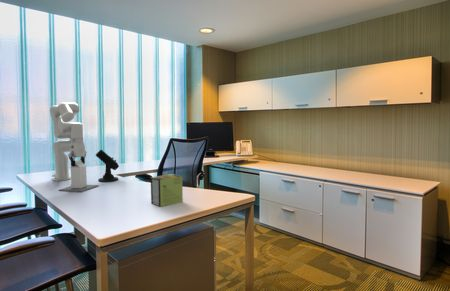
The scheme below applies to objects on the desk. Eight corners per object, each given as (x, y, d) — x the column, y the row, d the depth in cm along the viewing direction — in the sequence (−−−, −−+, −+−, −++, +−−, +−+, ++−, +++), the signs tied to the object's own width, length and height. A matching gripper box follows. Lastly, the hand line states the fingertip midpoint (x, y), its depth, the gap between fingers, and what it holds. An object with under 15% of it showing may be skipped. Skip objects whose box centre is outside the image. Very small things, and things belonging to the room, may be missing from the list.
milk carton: (86, 186, 213) (85, 160, 211) (80, 188, 206) (79, 161, 204) (77, 186, 214) (76, 159, 212) (71, 188, 207) (70, 161, 205)
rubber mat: (58, 190, 203) (58, 189, 203) (77, 185, 220) (76, 184, 220) (81, 192, 199) (81, 191, 199) (98, 186, 217) (98, 185, 217)
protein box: (183, 201, 176) (182, 175, 174) (160, 207, 165) (159, 179, 164) (172, 198, 183) (172, 173, 182) (150, 203, 172) (150, 177, 171)
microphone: (96, 179, 242) (95, 149, 239) (118, 177, 249) (117, 148, 247) (96, 183, 228) (95, 150, 226) (120, 181, 235) (119, 149, 233)
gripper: (73, 141, 198) (74, 167, 200) (89, 139, 215) (90, 163, 216) (63, 141, 199) (64, 166, 201) (80, 139, 216) (81, 162, 218)
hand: (78, 164), depth 209 cm, fingers open, 9 cm apart
